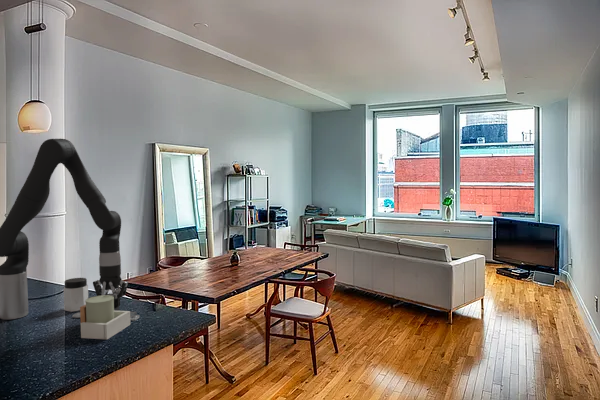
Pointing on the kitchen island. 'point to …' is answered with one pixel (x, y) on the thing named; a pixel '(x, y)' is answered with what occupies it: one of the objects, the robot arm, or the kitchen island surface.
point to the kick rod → (83, 311)
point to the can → (100, 309)
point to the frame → (106, 326)
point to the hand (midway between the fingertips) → (111, 307)
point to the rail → (130, 316)
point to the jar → (75, 294)
